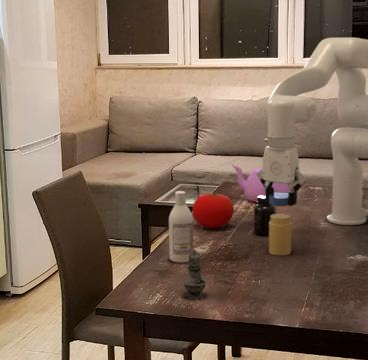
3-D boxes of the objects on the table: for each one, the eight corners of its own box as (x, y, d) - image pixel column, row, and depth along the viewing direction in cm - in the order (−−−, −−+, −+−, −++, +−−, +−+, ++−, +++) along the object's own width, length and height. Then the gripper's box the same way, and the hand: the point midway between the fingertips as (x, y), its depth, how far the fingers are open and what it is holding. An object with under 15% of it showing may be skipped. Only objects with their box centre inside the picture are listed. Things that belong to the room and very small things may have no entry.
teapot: (231, 193, 295) (231, 159, 293) (287, 193, 292) (288, 158, 290) (231, 206, 274) (231, 170, 271) (291, 206, 271) (292, 169, 268)
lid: (268, 205, 214) (268, 198, 213) (269, 199, 220) (269, 192, 220) (292, 206, 212) (292, 198, 212) (293, 200, 219) (293, 192, 218)
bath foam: (198, 260, 213) (197, 192, 209) (177, 264, 210) (175, 195, 206) (185, 254, 219) (184, 188, 215) (165, 258, 216) (163, 191, 212)
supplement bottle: (275, 236, 235) (275, 199, 232) (253, 236, 236) (253, 199, 234) (275, 230, 241) (276, 194, 239) (254, 230, 243) (254, 194, 240)
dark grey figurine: (181, 291, 189) (180, 246, 187) (204, 290, 189) (203, 245, 187) (185, 300, 183) (184, 253, 181) (208, 298, 184) (208, 252, 181)
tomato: (191, 222, 255) (191, 188, 253) (231, 221, 254) (231, 187, 252) (193, 232, 242) (193, 197, 240) (235, 231, 242) (235, 196, 239)
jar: (289, 248, 222) (289, 213, 220) (292, 255, 216) (293, 218, 213) (267, 249, 222) (267, 213, 220) (270, 255, 216) (270, 219, 214)
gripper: (248, 142, 216) (248, 201, 219) (301, 147, 204) (300, 210, 208) (262, 138, 221) (262, 196, 225) (315, 143, 209) (314, 204, 213)
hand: (280, 202), depth 216 cm, fingers closed on lid, 6 cm apart
